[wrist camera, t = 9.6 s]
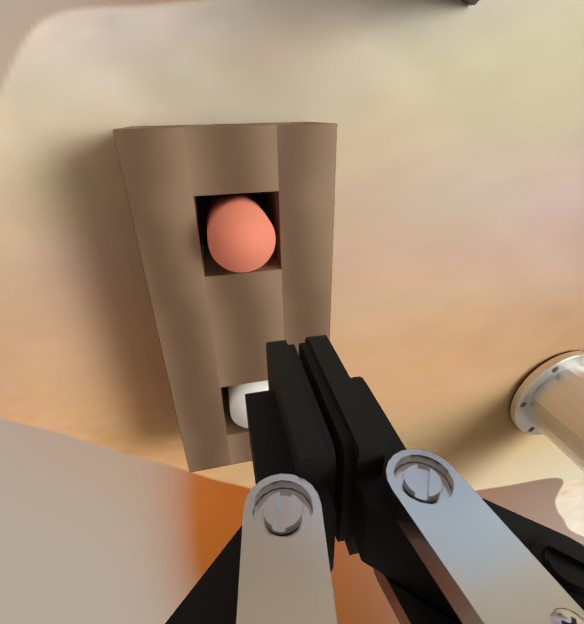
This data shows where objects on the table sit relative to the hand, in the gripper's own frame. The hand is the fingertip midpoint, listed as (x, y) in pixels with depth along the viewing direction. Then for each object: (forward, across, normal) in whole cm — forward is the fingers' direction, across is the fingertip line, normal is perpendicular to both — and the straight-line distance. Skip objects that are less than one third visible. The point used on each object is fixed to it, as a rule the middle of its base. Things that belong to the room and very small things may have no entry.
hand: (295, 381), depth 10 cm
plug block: (+20, 0, +7) cm, 21 cm away
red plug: (+19, 0, 0) cm, 19 cm away
